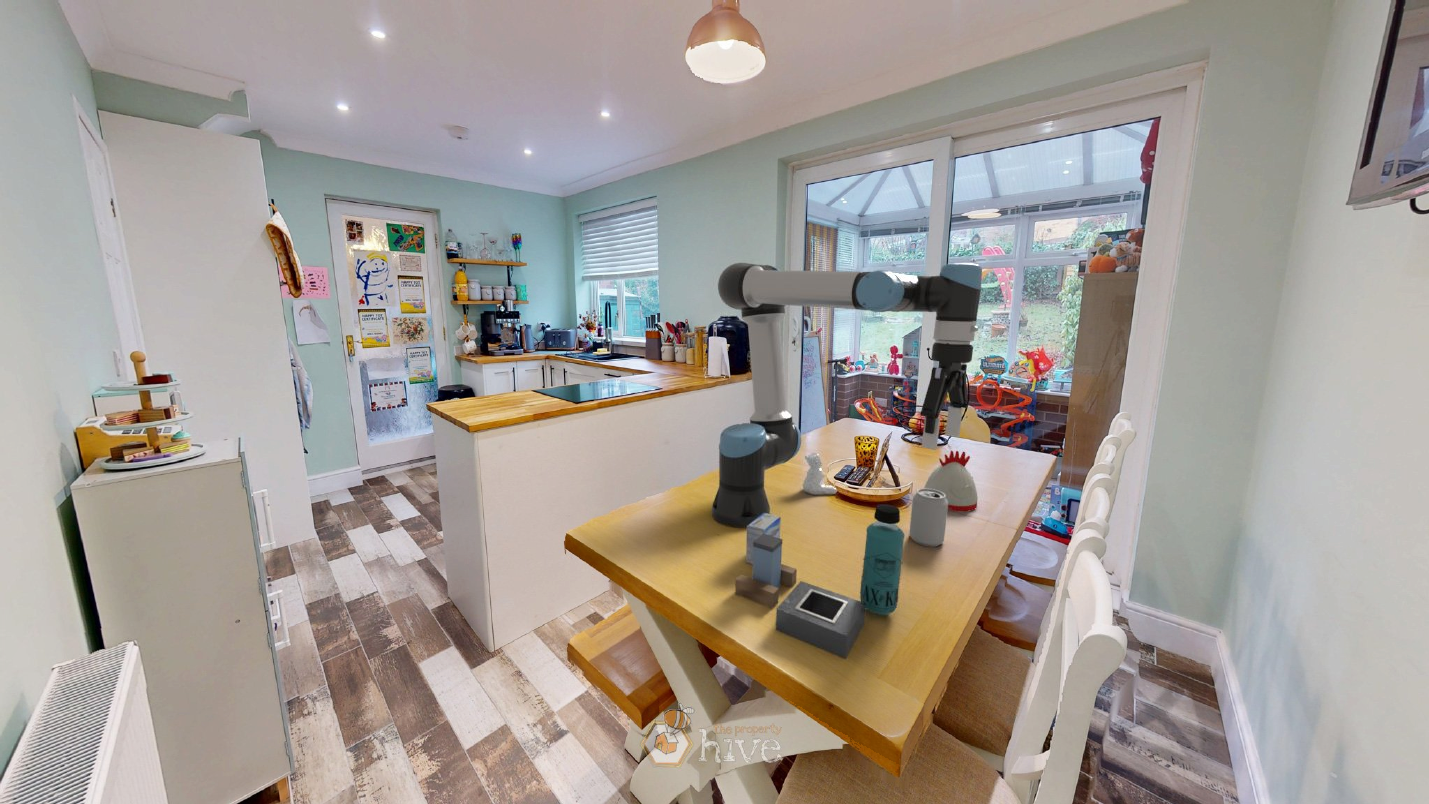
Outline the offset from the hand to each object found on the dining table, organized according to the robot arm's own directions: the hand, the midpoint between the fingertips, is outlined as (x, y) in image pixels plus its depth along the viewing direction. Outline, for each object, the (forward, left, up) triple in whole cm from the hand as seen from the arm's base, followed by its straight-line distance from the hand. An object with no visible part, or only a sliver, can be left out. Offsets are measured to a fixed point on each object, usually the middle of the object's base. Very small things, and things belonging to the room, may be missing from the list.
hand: (941, 442), depth 102 cm
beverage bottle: (-4, -29, -26) cm, 39 cm away
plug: (-24, -34, -26) cm, 48 cm away
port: (-11, -39, -26) cm, 47 cm away
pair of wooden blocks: (-24, -34, -26) cm, 48 cm away
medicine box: (-30, -24, -26) cm, 46 cm away
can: (-2, +5, -26) cm, 26 cm away
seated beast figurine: (-35, +19, -26) cm, 47 cm away
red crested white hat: (-1, +34, -26) cm, 43 cm away
